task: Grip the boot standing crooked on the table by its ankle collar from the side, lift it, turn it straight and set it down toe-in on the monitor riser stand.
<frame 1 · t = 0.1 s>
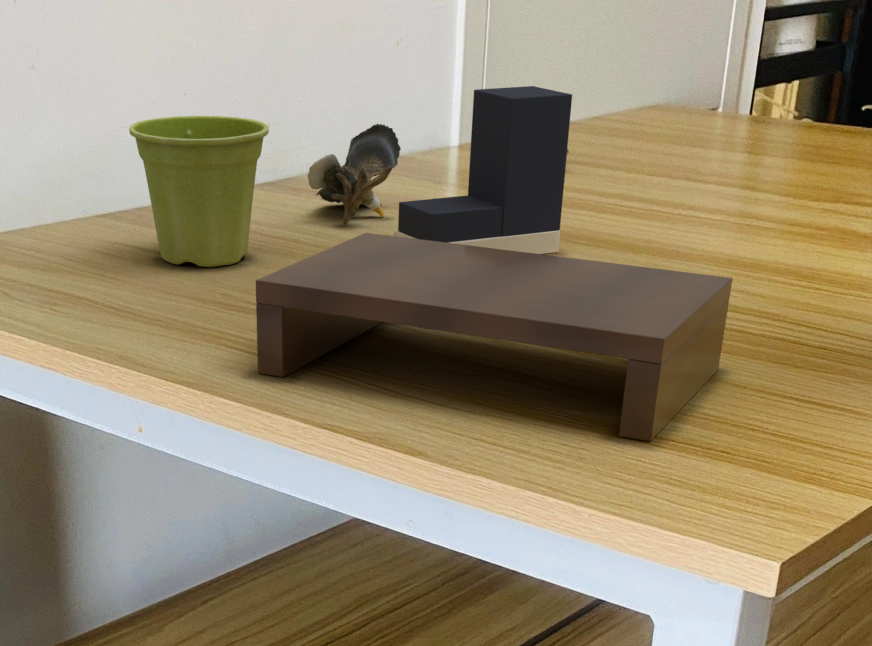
boot: (476, 252, 99), on the table
whale figurine: (536, 168, 129), on the table
plant pot: (204, 260, 97), on the table
monitor riser stand: (489, 371, 75), on the table
eagle figurine: (357, 218, 110), on the table
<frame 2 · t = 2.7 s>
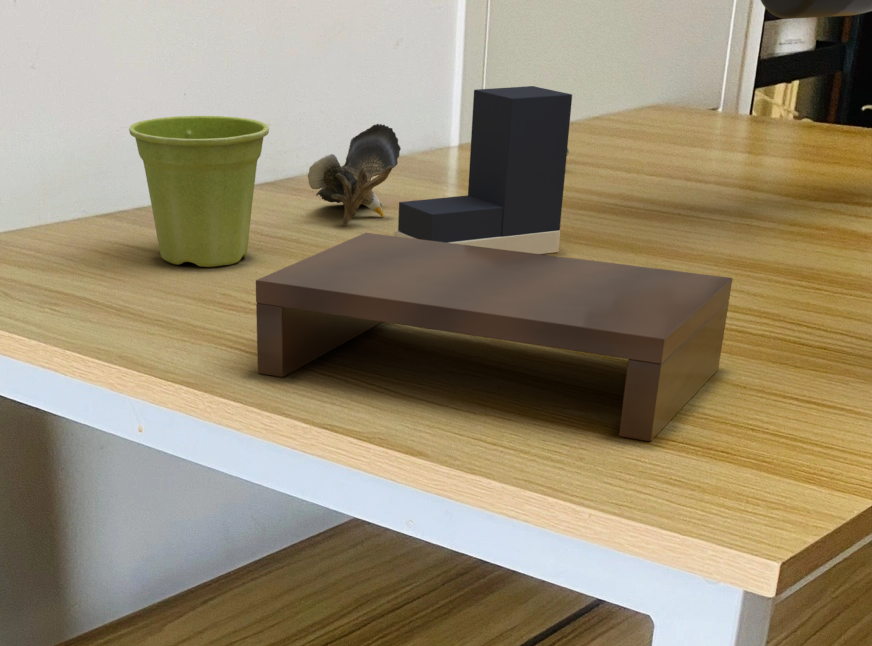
nothing on the table moved.
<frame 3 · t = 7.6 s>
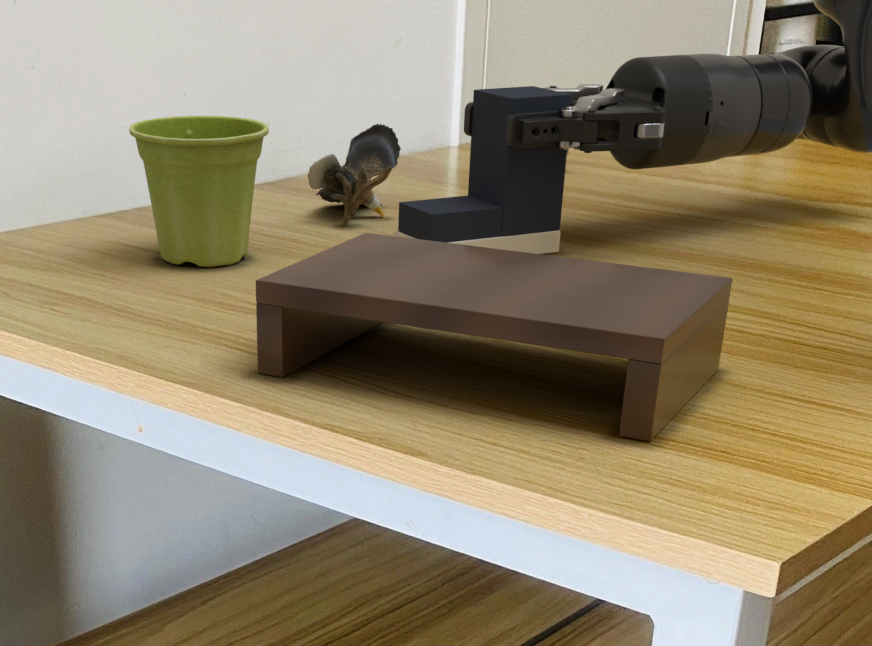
hand: (488, 125, 95), 8 cm above the table, tool horizontal, fingers closed on boot, 4 cm apart
boot: (476, 252, 99), on the table, touching gripper
everything else where it was.
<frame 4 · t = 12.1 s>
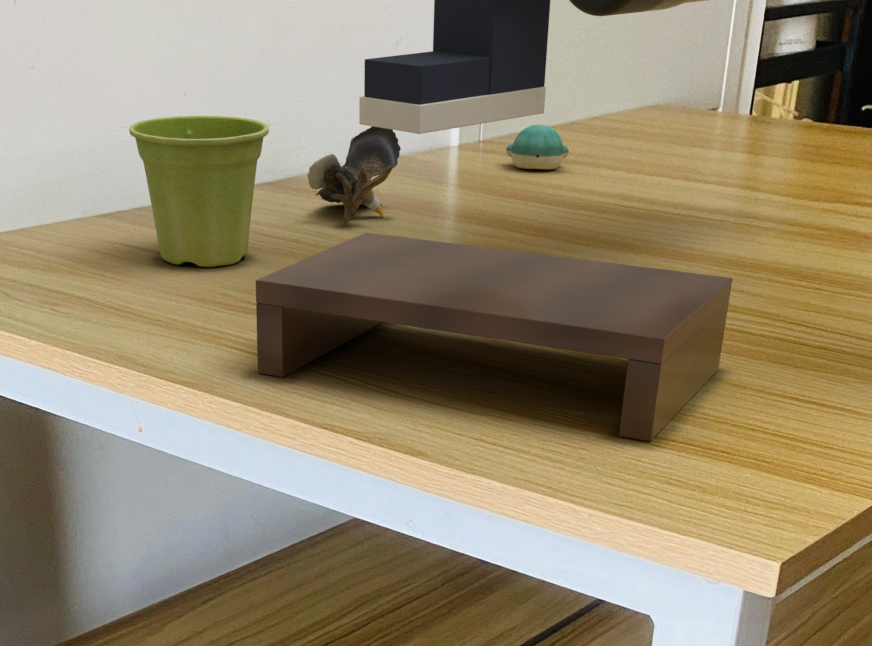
boot: (453, 118, 83), point 11 cm above the table, touching gripper
everything else where it was.
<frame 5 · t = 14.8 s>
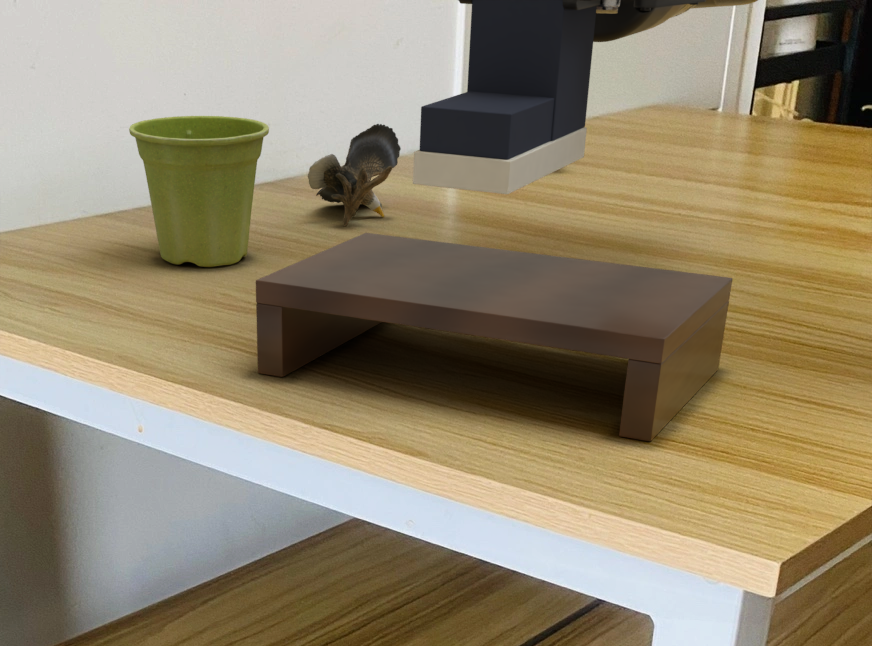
boot: (502, 170, 70), point 10 cm above the table, touching gripper
everything else where it was.
when the fingers open (13 cm above the table, at t = 16.7 s): boot stays where it is, resting on monitor riser stand.
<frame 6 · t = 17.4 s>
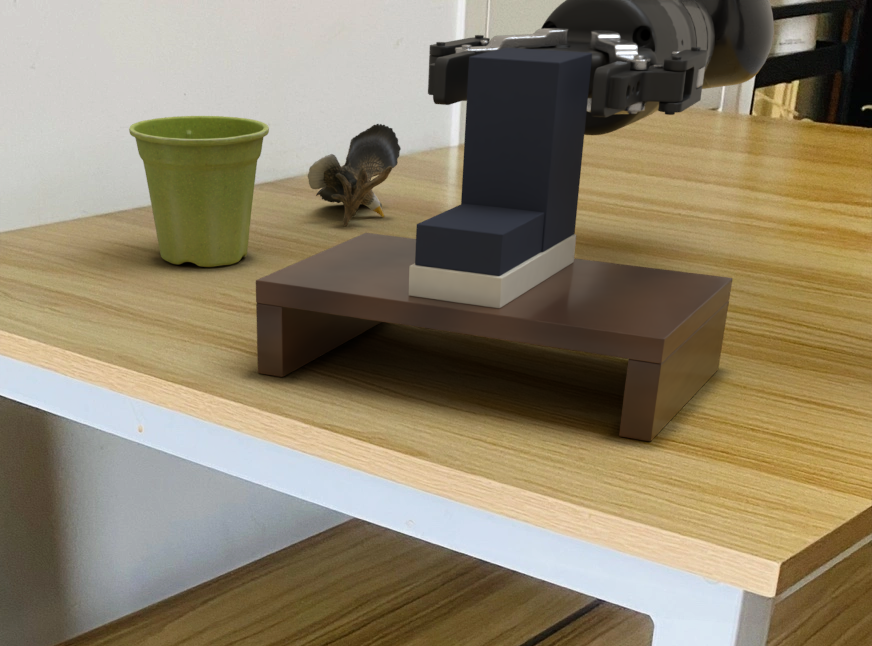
hand: (517, 88, 69), 14 cm above the table, tool horizontal, fingers open, 8 cm apart
boot: (494, 278, 73), point 5 cm above the table, touching monitor riser stand
everything else where it was.
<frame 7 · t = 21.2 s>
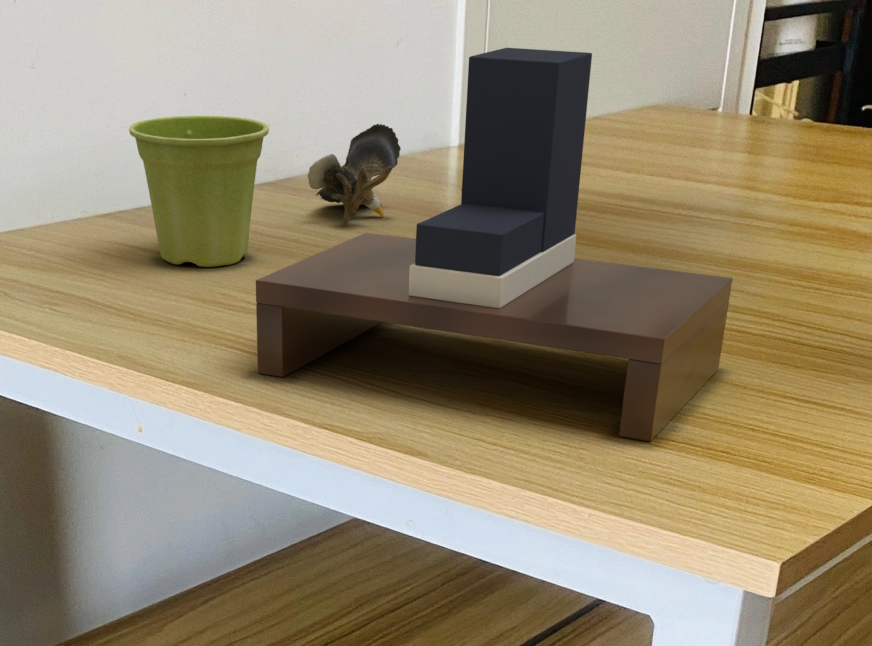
nothing on the table moved.
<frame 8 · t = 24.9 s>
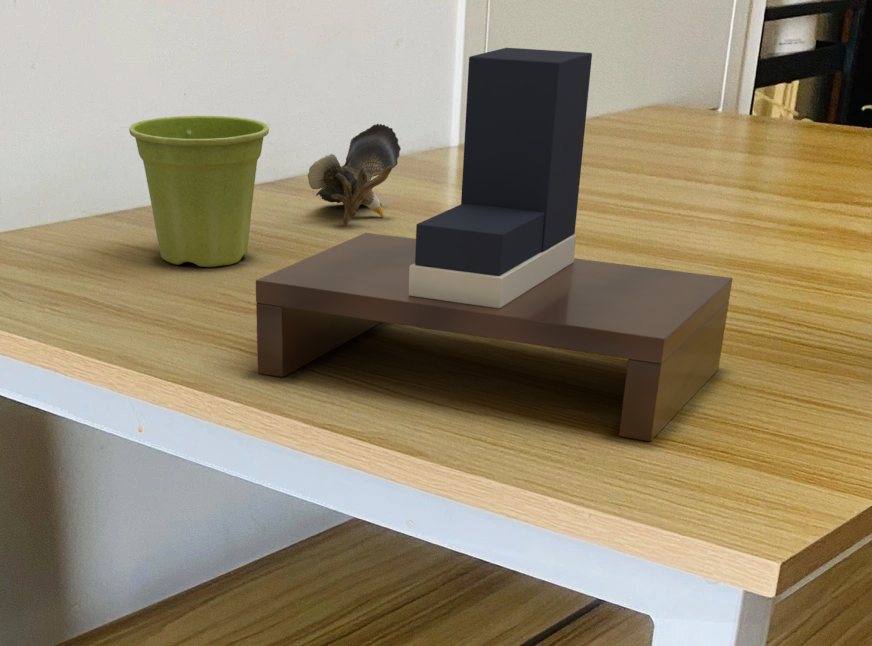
nothing on the table moved.
at the end: boot inside the target area on the monitor riser stand (0.1 cm from its centre), point 5.0 cm above the monitor riser stand's base; boot tilted 0°; the gripper is holding nothing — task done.
